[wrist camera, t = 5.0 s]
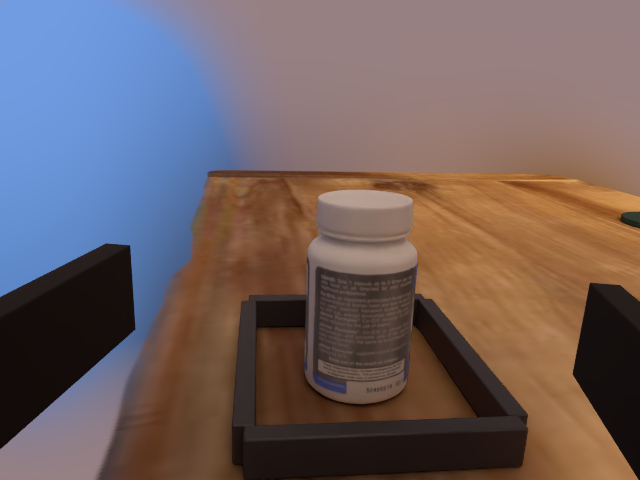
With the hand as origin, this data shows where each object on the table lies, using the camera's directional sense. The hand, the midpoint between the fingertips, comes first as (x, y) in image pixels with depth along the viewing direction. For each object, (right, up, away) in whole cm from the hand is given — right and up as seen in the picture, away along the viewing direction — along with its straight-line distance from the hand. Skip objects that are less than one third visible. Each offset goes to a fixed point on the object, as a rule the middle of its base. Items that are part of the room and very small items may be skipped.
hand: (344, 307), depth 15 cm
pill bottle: (+1, -5, +9) cm, 10 cm away
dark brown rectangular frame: (+1, -4, +9) cm, 10 cm away
